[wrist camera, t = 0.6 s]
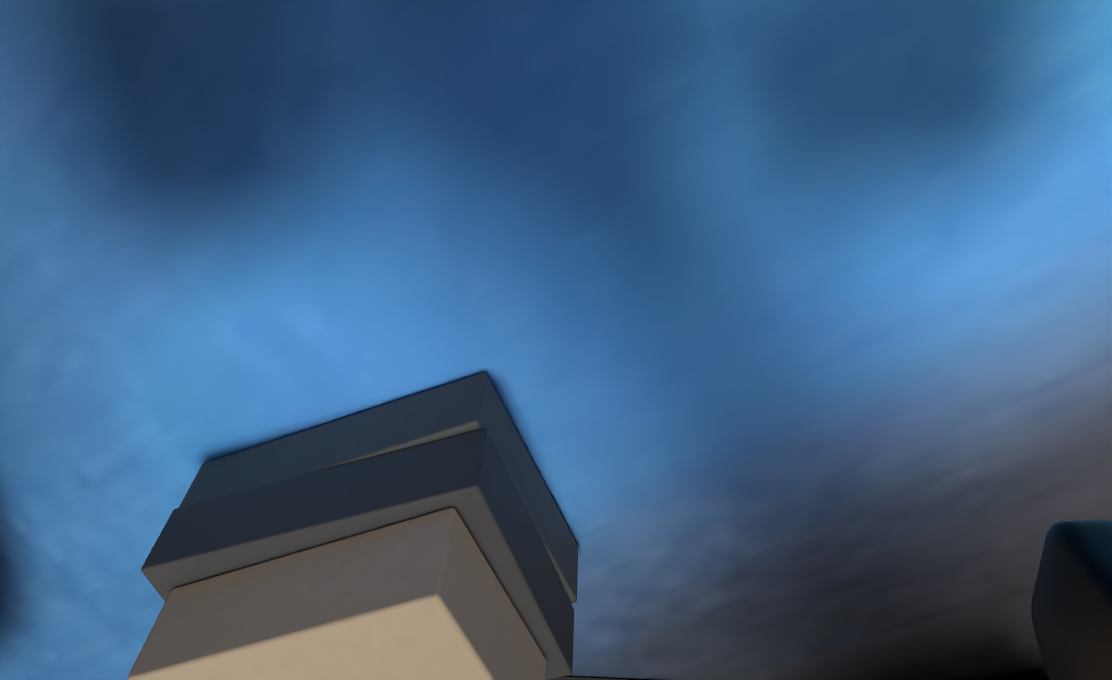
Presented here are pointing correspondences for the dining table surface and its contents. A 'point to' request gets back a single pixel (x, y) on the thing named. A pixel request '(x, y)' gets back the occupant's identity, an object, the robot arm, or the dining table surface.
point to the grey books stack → (387, 501)
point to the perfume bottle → (577, 679)
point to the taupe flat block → (349, 615)
